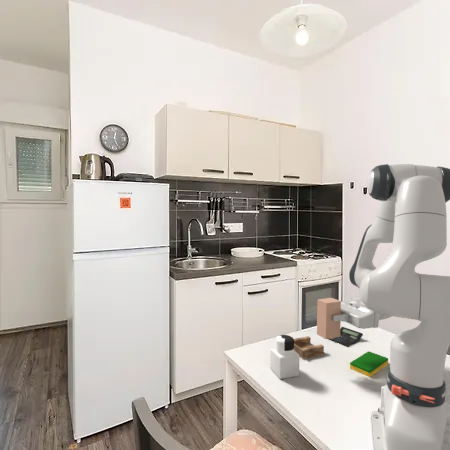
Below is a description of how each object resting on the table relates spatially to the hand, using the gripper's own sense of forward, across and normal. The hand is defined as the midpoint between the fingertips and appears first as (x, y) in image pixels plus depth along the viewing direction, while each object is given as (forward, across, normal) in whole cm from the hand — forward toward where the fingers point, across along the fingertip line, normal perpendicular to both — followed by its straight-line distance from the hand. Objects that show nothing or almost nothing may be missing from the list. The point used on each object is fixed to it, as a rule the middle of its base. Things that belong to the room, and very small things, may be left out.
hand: (326, 315), depth 102 cm
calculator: (-24, -17, +19) cm, 35 cm away
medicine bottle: (+14, -4, +19) cm, 24 cm away
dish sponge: (-16, +4, +19) cm, 25 cm away
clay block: (-1, 0, +7) cm, 7 cm away
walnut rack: (-2, -14, +19) cm, 24 cm away
